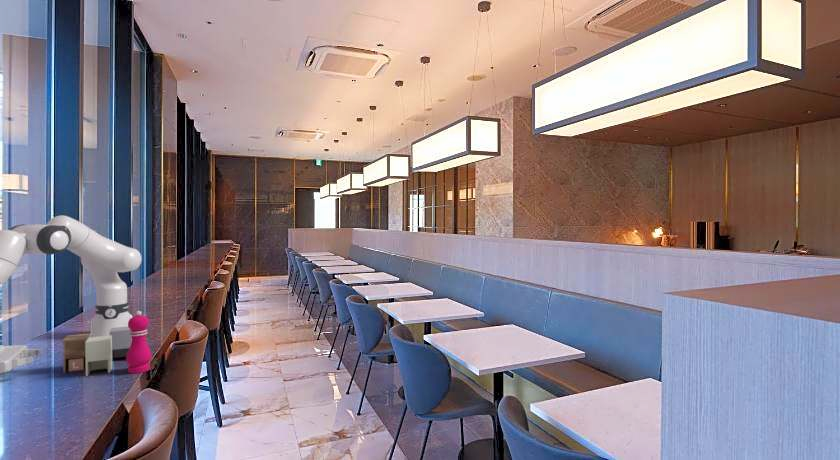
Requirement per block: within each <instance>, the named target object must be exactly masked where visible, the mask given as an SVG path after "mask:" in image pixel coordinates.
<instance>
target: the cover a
mask: <svg viewBox="0 0 840 460" xmlns="http://www.w3.org/2000/svg"><path fill="white" fill-rule="evenodd" d="M90 334H91V332H90V333H80V334H79V333H78V334H68V335H66V336H65V337H64V338H63V339H62V364H63V365H62V368H63V369H62V370H63V372H62V373H63V374H66V373H67V371H69V362H68V360H69V359H72V358H80V357H85V368H84V370H85V371H86V349H85V342H86V341H87V339H88V338H90Z"/></svg>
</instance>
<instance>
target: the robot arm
mask: <svg viewBox="0 0 840 460" xmlns="http://www.w3.org/2000/svg"><path fill="white" fill-rule="evenodd" d="M66 250H68V251H69V252H71V253H73V254H75V255H76V256H78V257H80V264H81V265H82V267H83V268H84V269H86V270H87V271H88V273H89V274H90V276H91V278H92V280H93V283H94V285H95V295H96V296H95V297H96V304H95V307H94V311H95V313H94V316H93V317H92V318H91V319H90V337H100V336H110V334H109V332H110V330H111V328H117V327H128V322H129V320H130V319H131V318H132V317H133V315H132V314H131V313H130V312H129V310H130V309H129V307H130V306H129V302H128V286H127V283H126V282H125V281H123V280H122V279H121V277H120V276H119V274H118V273H128V272H131V271H135V270H137V269H138V268H140V266H141V264H142V262H143V261H142V260H143V259H142V258H143V257H142V254H141V252H140V250H138V249H136V248H133V247H130V246H126V245H125V244H121V243H119V242H117V241H115V240H113V239H110V238H107V237H105V236H104V235H103V236H102V235H101V234H99V233H97V231H95V230H94V229H92V228H90V227H89V226H87V225H86V224H84V223H82V222H80V221H79V220H77V219H75V218H73V217H71V216H68V215H57V216H54V217H52V218H50V219H49V220H48V222H46V224H39V223H36V224H18V225H14V226H12V227H10V228H8V229H0V285H3V284H5V282H7V281H8V279H9V278H10V277H11V276H12V275H13V273H14V272H15V271H16V268H17V267H18V264H19V263H20V261H21V259H22V257H23V256H25V255H26V254H27V255H34V256H35V255H37V256H38V255H51V256H52V255H57V254H61V253H63V252H65V251H66ZM42 351H43V350H42V349H39V348H38V349H34V348H33V349H32V348H28V346H27V345H23V344H18V345H2V346H0V374H3V373H8V372H10V371H12V369H13V368H15V367H20V366H24V365H29V364H33V363H34V360H35V359H34V357H36V356H37V357H38V356H40V355H42Z"/></svg>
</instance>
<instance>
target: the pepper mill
mask: <svg viewBox="0 0 840 460" xmlns="http://www.w3.org/2000/svg"><path fill="white" fill-rule="evenodd" d="M142 313H143V312H142V311H141V310H137V311H135V316H132V318H131V319H130V320H129V322H128V327H129V328H130V329H131V331H130V336H131V338H132V341H131V346H130V349H129V351H128V353H127V356H126V357H125V361H126V364H128V367H127V373H128V374H133V375H135V374H141V373H145V372H148V371H150V370H151V363H149V362H150V361H151V360H152V358H153V357H152V352H151V349H150V348H149V345H148V342H147V334H148V329H147V328H148V327H149V325H150V320H149V318H148V317H147V316H146V315H143V314H142Z"/></svg>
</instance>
